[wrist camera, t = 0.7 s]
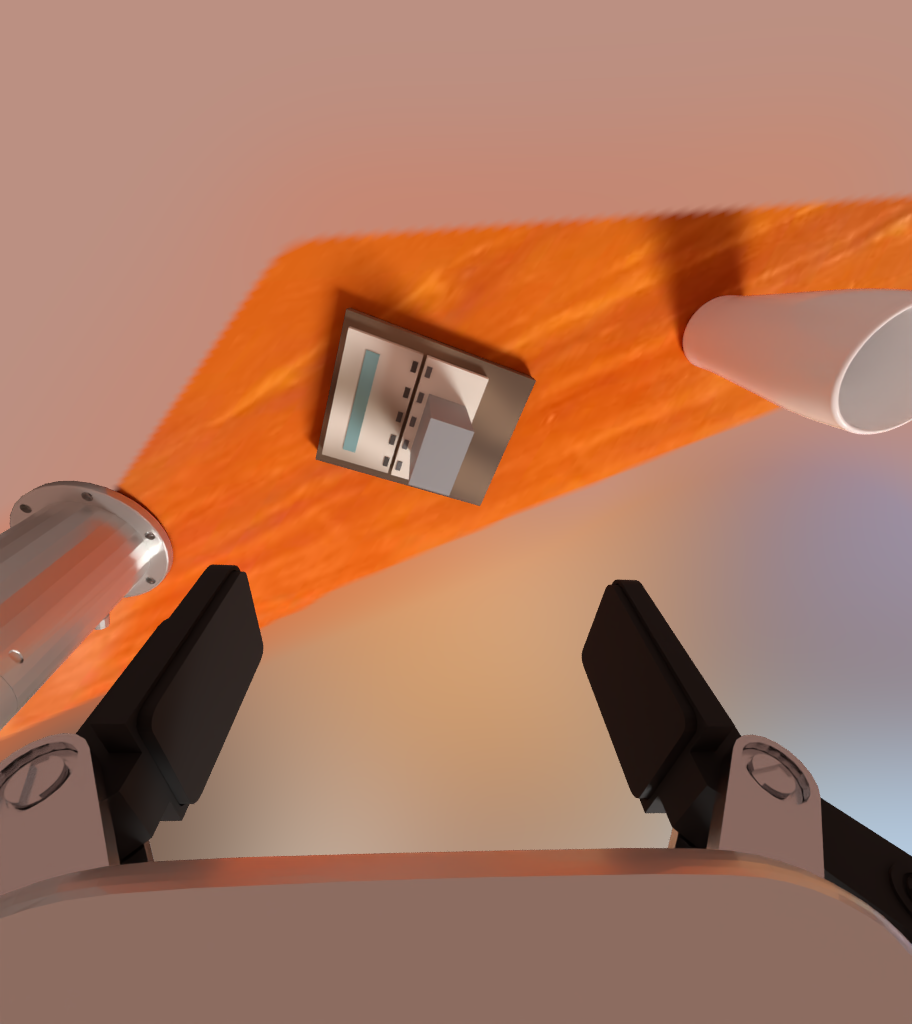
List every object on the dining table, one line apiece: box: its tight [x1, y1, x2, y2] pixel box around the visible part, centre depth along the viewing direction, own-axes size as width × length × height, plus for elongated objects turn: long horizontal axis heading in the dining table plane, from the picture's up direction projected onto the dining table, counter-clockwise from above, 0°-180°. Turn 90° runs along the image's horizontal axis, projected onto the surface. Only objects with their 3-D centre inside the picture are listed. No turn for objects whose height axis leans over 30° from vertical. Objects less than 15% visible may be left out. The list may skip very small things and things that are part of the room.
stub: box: [391, 355, 489, 496], centre depth 30 cm, size 10×5×7 cm, turn 160°
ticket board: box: [316, 308, 536, 506], centre depth 33 cm, size 12×15×2 cm
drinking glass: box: [683, 288, 912, 434], centre depth 26 cm, size 7×7×15 cm
